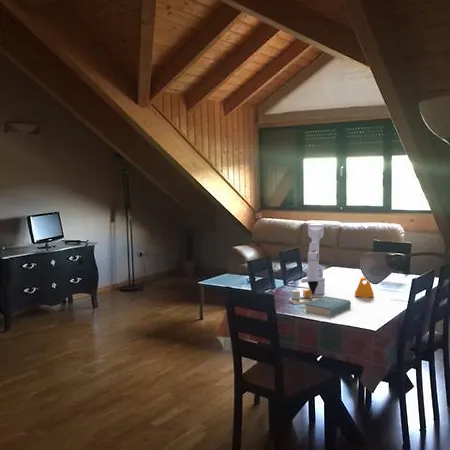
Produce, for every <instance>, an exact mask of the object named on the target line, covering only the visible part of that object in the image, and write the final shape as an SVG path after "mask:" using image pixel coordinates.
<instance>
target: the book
mask: <svg viewBox="0 0 450 450" xmlns="http://www.w3.org/2000/svg"><path fill="white" fill-rule="evenodd" d="M351 304H352V302H351V301H350V300H349V299H343V298H338V297H332V296H325V295H324V297H322V298H320V299H317V300H314V301H312V302H309V303H306V304H304V305H305V311H304V312H305V313H309V314H314V315H320V316H325V317H329V318H330V317H333V316H335V315H338V314H341V313H342V312H345V311H347V310H349V309H351V308H352V307H351Z"/></svg>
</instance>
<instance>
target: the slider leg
mask: <svg viewBox="0 0 450 450" xmlns="http://www.w3.org/2000/svg"><path fill="white" fill-rule="evenodd" d="M302 297H305V298H310V300H311V297H313V295H312V291H311V290H310V289H309V288H308V289H306V288H305V289H303V290H302Z"/></svg>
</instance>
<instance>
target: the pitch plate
mask: <svg viewBox="0 0 450 450" xmlns="http://www.w3.org/2000/svg"><path fill="white" fill-rule="evenodd" d="M322 297H325V295H319V296H318V295H316V296H315V295H314V296H312V297H311V300H310V298H305V297H304V296H301V291H300V290H298V289H293V290H292V289H291V290H290V298H288V300H289V302H290V303H292V304H294V305H301V304H303V305H305V304H306V303H309V302H312V301H314V300H317V299H320V298H322Z"/></svg>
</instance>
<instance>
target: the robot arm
mask: <svg viewBox="0 0 450 450" xmlns="http://www.w3.org/2000/svg"><path fill="white" fill-rule="evenodd" d="M324 231H325V225H324V223H308V225H307V235H308V237H309V238H311V242H309V245H308V246H309V247H308V252H307V265H308V266H307V269H306V277H305V278H301V279H300V283H302V284H304V283H307V285H308V289H310V290H311V291H312V296H313V295H314V296H315V295H316V296H318V295H326V293H325V284H326V283H325V282H326V279H325V277H324V269H323V266H322V265H320V264H319V262H320V261H319V260H320V241H321V239H322V238H324V233H325V232H324Z"/></svg>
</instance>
